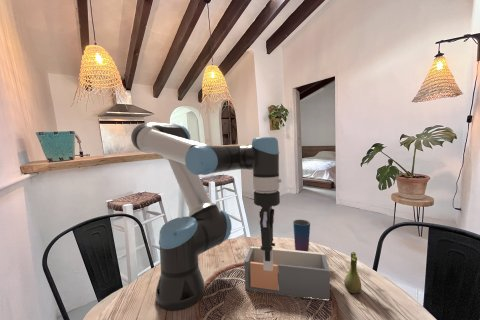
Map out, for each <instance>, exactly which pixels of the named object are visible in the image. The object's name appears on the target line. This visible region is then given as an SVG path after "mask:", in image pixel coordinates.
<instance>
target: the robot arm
mask: <svg viewBox="0 0 480 320" xmlns="http://www.w3.org/2000/svg"><path fill="white" fill-rule="evenodd" d="M130 138H131V143H132V145H133V146H134V147H135V148H136V149H137V150H139V151H141V152H143V153H146V154H152V153H153V154H156V155H159V156H161V157H162V158H163V159H164V160H166V161H168V163H169V165H170V168H171V171H172V174H174V177H175V181H177V184H178V187H179V189H180V192H181V194H182V195H183V199H184V201H185V204H186V206H187V209H188V210H189V214H188V215H187V216H182V217H175V218H173V219H171V220H169V221H167V222H165V223H164V224H163V225H162V226H161V228H160V230H159V235H158V236H159V238H158V246H159V261H160V276H159V279H158V283H157V286H156V289H155V302H156V304H157V305H158V306H159V307H160V308H162V309H164V310H167V311H180V310H184V309H186V308H189V307H191V306H193V305H195V304H196V303H197V302H199V301H200V300H201V299H200V298H202V297H203V296H204V293H205V281H204V278H203V274H202V272H201V269H200V267H199V255H201V254H203V253H205V252H207V251H209V250H211V249H212V248H215V247H217V246H220V245H221V244H222V243H224V242H225V241H227V240H228V239H229V237H230V235H231V231H232V227H233V226H232V221H231V218H230V215H229V214H228V213H227V211H224V210H223V209H222V210H221V209H219V207H218V205H217V204H216V203H214V202H212V201H211V199H210V197H209V195H208V193H207V191H206V189H205V186H204V184H203V182H202V180H201V177H200V175H202V176H206V175H210V174H216V173H222V172H223V173H224V172H229V171H236V170H249V171H250V170H251V171H252V175H253V176H252V182H253V183H252V185H253V191H254V192H253V204H254V205H256V206H258V207H261V208H260V210H259V215H258V216H259V218H260V220H259V226H260V235H261V236H260V239H261V246H260V247H261V248H260V249H262V250H263V268H264V270H266V271H273V248H274V247H276V243H274V242H273V241H274V221H275V220H274V219H275V218H274V216H275V209H274V208H273V207H276V206H278V205H280V203H281V201H280V200H281V197H280V191H279V190H280V183H282V179H280V162H279V161H280V151H279V141H278V139H277V138H276V137H274V136H270V137H269V136H263V137H254V138H252V141H251V144H249V145H248V144H247V145H245V144H244V145H243V144H241V145H209V144H205V143H202V142H199V141H195V140H191V139H192V138H191V134H190V131H189V130H188V128H186V127H185V126H184V125H182V124H176V123H163V122H151V121H150V122H149V121H146V122H143V123H139V124H138V125H136V127H134V128H133V130H132V132H131V135H130ZM199 299H200V300H199ZM198 300H199V301H198Z"/></svg>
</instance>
